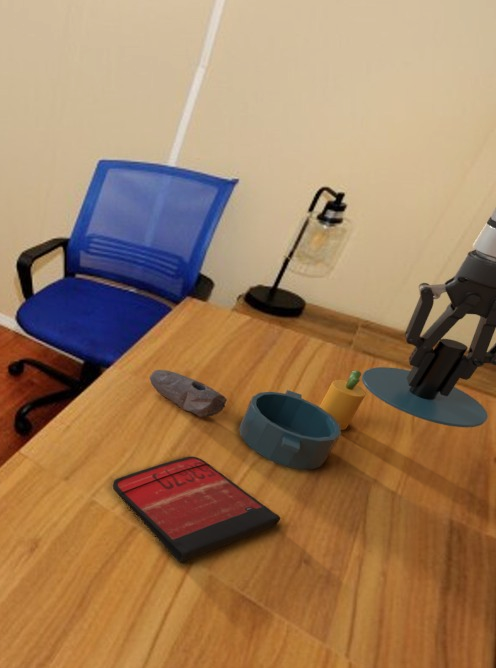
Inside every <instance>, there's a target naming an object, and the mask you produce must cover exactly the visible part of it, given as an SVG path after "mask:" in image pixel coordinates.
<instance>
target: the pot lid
mask: <svg viewBox="0 0 496 668" xmlns="http://www.w3.org/2000/svg"><path fill="white" fill-rule="evenodd" d="M433 350H434V353H435V356H434V358H433V359H432V361H431V363H430V364H429V366H428V367H427V369H426V371H425V372H424V374H423V375H422V377H421V379H420V380H419V382H418V383H417V385H416V387H412V386H409V385H408V381H407V376H408V374H409V373H410V371H411V370H408V369H404V368H398V367H391V366H389V367H388V366H375V367H370V368H369V369H368V368H367V369H366V370H365V371H364V372H363V373H362V374H361V382H362V384H363V385H364V387H365V388H366V390H368V391H369V392H370V393H371V394H372V395H374V396H375V397H376V398H377V399H379V400H381V401H382V402H384V403H385V404H387V405H389V406H391V407H393V408H395V409H396V410H399V411H401V412H403V413H405V414H407V415H409V416H413V417H416V418H418V419H422V420H424V421H427V422H431V423H435V424H439V425H443V426H448V427H454V428H476V427H480V426H482V425H483V424H485V423H486V422H487V420H488V412H487V411H486V408H485V407H484V406H483V405H482V404H481V403H480V402H479V401H478V400H477V399H475V398H474V397H473V396H471V395H470V394H469V393H467V392H465V391H463V390H461V389H459V388H457V387H456V386H454V387H453V389H452V390H451V392H450V393H449V395H448V396H444V395H441V394H440V390H441V388H442V387H443V385H444V384H445V382H446V381H447V379H448V378H449V376H450V375H451V373H452V372H453V370H454V369H455V367H456V365H457V364H458V362H459V361H460V359H461V358H462V356H463V355H465V354H466V352H467V351H468V350H469V347H468V346H467V345H466V344H465V343H463V342H460V341H458V340H455V339H451V338H441V340H440V341H439V342H438V343H437V344H436V345H435V346H434V348H433Z"/></svg>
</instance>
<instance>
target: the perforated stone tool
mask: <svg viewBox="0 0 496 668" xmlns="http://www.w3.org/2000/svg"><path fill="white" fill-rule="evenodd" d="M149 381H150V384H151V386H152V387H153V388H154V390H156V392H158V393H159V394H160V395H161V396H162V397H164V398H166V399H168V400H169V401H170V402H171V403H172V404H175V405H176V406H178V407H179V408H181V409H182V410H184V411H186V412H189V413H191V414H193V415H196V416H197V417H199V418H206V417H213V416H215V415H218V414H220V413H221V412H222V411H223V409H224V408H226V403H227V401H228V399H227V398H226V397H225V396H224V395H223V394H222V393H220V392H219V391H216V390H215V389H213V388H212V387H210V386H208V385H207V384H205V383H202V382H201V381H199V380H196V379H194V378H191V377H189V376H186V375H183V374H180V373H178V372H175V371H171V370H168V369H167V370H166V369H155V370H153V371H152V373H151V374H150V375H149Z"/></svg>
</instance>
